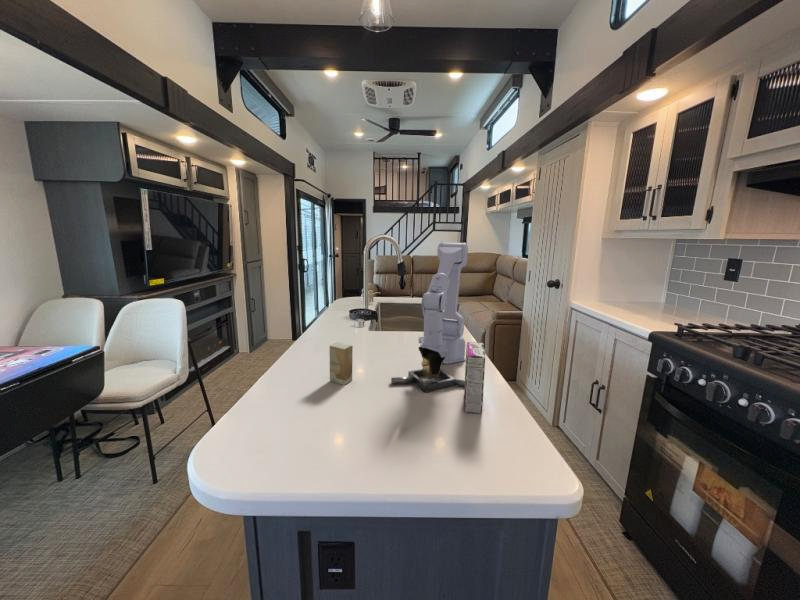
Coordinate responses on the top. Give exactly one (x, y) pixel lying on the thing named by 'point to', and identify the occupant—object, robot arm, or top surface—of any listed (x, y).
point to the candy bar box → (474, 377)
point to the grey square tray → (432, 381)
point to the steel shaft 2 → (459, 383)
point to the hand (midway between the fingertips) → (431, 370)
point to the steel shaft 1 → (402, 380)
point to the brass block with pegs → (428, 369)
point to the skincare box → (341, 363)
